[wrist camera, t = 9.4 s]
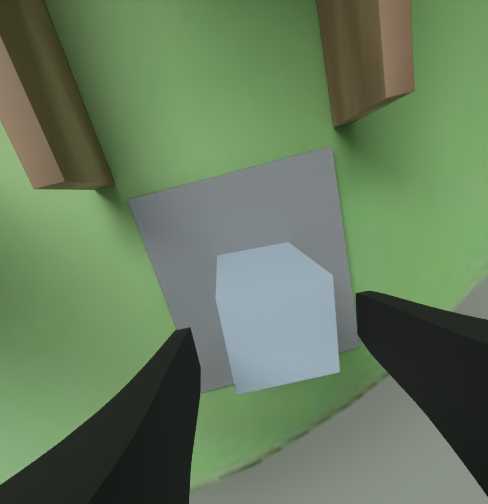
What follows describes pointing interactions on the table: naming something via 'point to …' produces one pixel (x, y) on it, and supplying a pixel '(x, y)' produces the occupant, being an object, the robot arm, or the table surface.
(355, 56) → the brown u-shaped frame
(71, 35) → the table surface
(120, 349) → the table surface
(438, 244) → the table surface
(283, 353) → the block
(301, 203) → the pad
